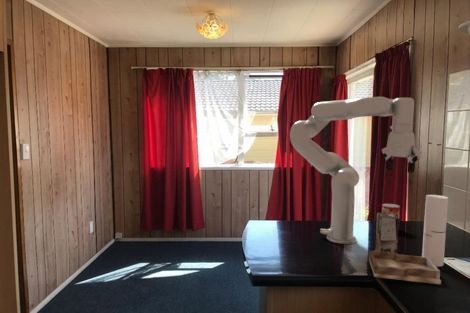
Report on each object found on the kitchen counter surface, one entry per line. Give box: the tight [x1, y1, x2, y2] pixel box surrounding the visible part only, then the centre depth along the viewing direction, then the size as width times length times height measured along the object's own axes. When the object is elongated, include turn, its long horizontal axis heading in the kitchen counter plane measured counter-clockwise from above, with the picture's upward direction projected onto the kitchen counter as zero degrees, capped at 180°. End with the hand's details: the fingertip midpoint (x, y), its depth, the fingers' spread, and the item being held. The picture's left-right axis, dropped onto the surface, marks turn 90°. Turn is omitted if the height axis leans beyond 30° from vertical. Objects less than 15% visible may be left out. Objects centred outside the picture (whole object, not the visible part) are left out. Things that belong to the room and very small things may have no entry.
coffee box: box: [374, 212, 400, 253], centre depth 138 cm, size 9×6×16 cm
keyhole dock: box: [368, 249, 442, 285], centre depth 124 cm, size 20×16×4 cm
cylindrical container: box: [421, 194, 449, 268], centre depth 131 cm, size 7×7×25 cm
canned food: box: [381, 203, 401, 230], centre depth 175 cm, size 8×8×12 cm
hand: (399, 171), depth 144 cm, fingers open, 9 cm apart
